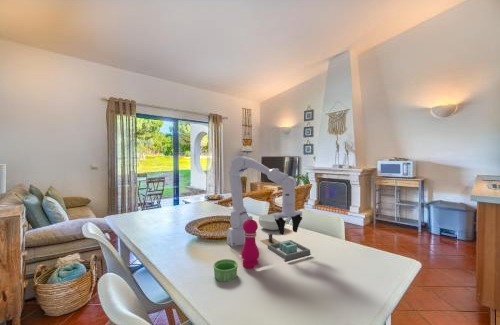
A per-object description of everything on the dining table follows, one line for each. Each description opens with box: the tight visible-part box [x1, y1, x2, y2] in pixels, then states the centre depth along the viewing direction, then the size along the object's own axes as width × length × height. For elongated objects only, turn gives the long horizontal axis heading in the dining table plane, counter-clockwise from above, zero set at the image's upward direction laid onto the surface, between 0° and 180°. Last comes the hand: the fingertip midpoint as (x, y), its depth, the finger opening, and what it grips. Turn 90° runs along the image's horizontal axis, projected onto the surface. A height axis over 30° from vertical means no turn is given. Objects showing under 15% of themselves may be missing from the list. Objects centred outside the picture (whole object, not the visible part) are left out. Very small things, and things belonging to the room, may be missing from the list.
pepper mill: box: [240, 215, 260, 270], centre depth 93 cm, size 7×7×20 cm
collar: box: [279, 240, 298, 255], centre depth 105 cm, size 6×7×4 cm
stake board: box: [259, 233, 280, 247], centre depth 116 cm, size 8×8×5 cm
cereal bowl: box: [258, 214, 287, 231], centre depth 140 cm, size 17×17×7 cm
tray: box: [267, 239, 311, 263], centre depth 105 cm, size 14×14×3 cm
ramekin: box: [212, 258, 239, 282], centre depth 85 cm, size 9×9×4 cm
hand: (288, 232), depth 105 cm, fingers open, 7 cm apart
